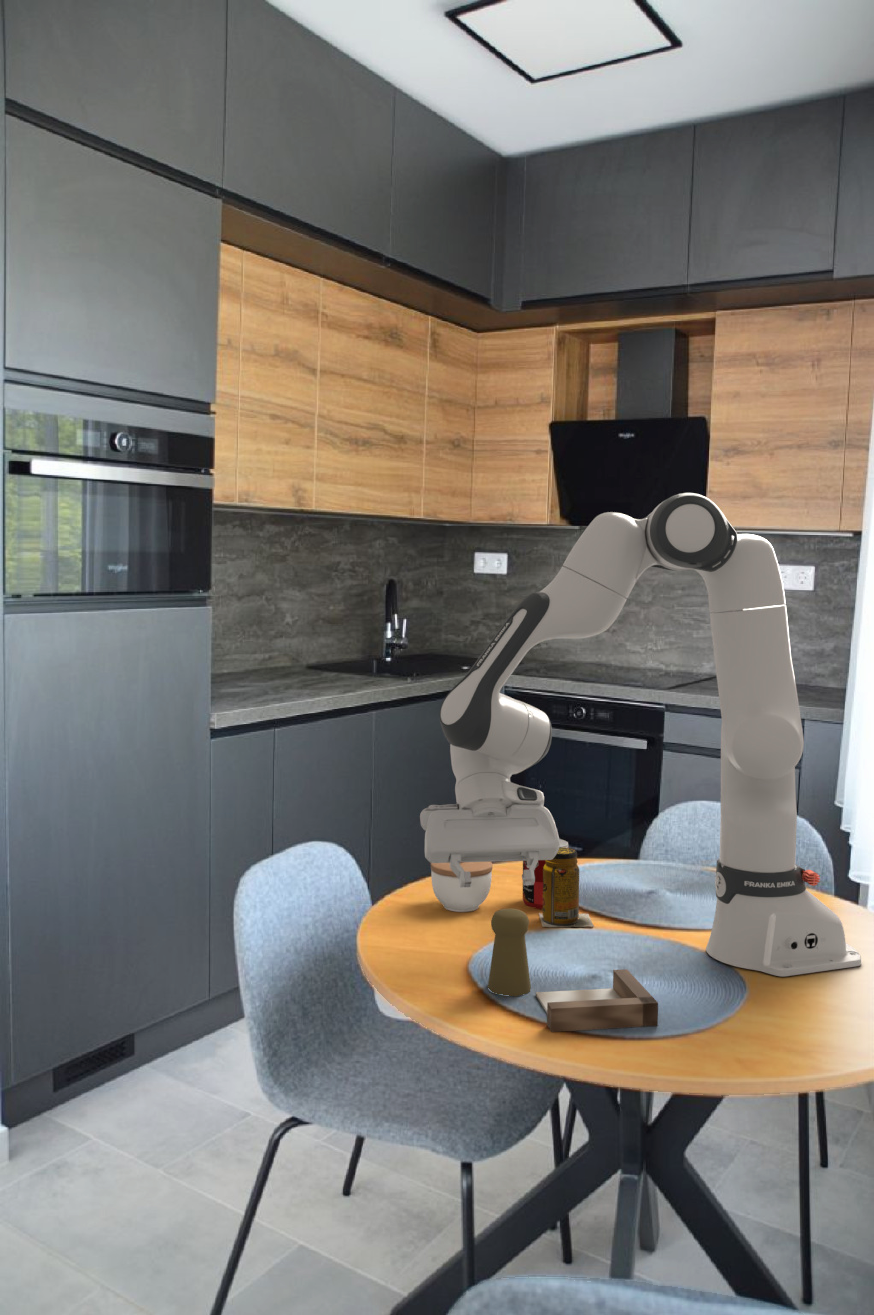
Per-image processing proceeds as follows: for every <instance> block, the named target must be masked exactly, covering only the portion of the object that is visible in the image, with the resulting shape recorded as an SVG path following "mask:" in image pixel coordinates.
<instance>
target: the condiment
mask: <svg viewBox="0 0 874 1315" xmlns="http://www.w3.org/2000/svg"><path fill="white" fill-rule="evenodd" d="M545 862H546V864H545V865H544V867H543V909H542V913H540V912H539V913H538V916H539V919H540V922H541V927H543V928H544V927H548V928H571V927H576V928H579V927H580V928H583V927H595V925H594V923H593V921H592V919H591V917H590V914H589V913H580V910H579V909H580V867H579V866H578V852H577V850H575V849H573V848H569V847H568V848H564V847H559V850H558V852H557V854H556V856H555V857H554V858H553V859H552V860H545Z"/></svg>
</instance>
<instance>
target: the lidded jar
mask: <svg viewBox="0 0 874 1315" xmlns="http://www.w3.org/2000/svg"><path fill="white" fill-rule="evenodd" d="M460 865H461V867H462V868H463V869H464V871H465V872H467V871H470V874H471V876H470V878H471V886H470V887H460V883H459V878H458V877H457V876H456V875H455V873H454V872H453V871H452V870H451V869H450V863H430V870H431V873H430V874H431V875H430V876H431V885H432V890H433V894H434V895H435V897H436V899H437V900H438V901H439V903H440V904H441V905H443V908H444V909H445V910H448V911H450V912H455V913H456V912H457V913H468V912H474V911H476V910H478V909H479V906H481V905H482V904H483V903H484V902H485V901H486V899H487V897H488V895H489V893H490V890H491V887H492V886H491V885H492V877H493V876H492V874H493V873H492V872H493V863H492V861H491V862H460Z"/></svg>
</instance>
